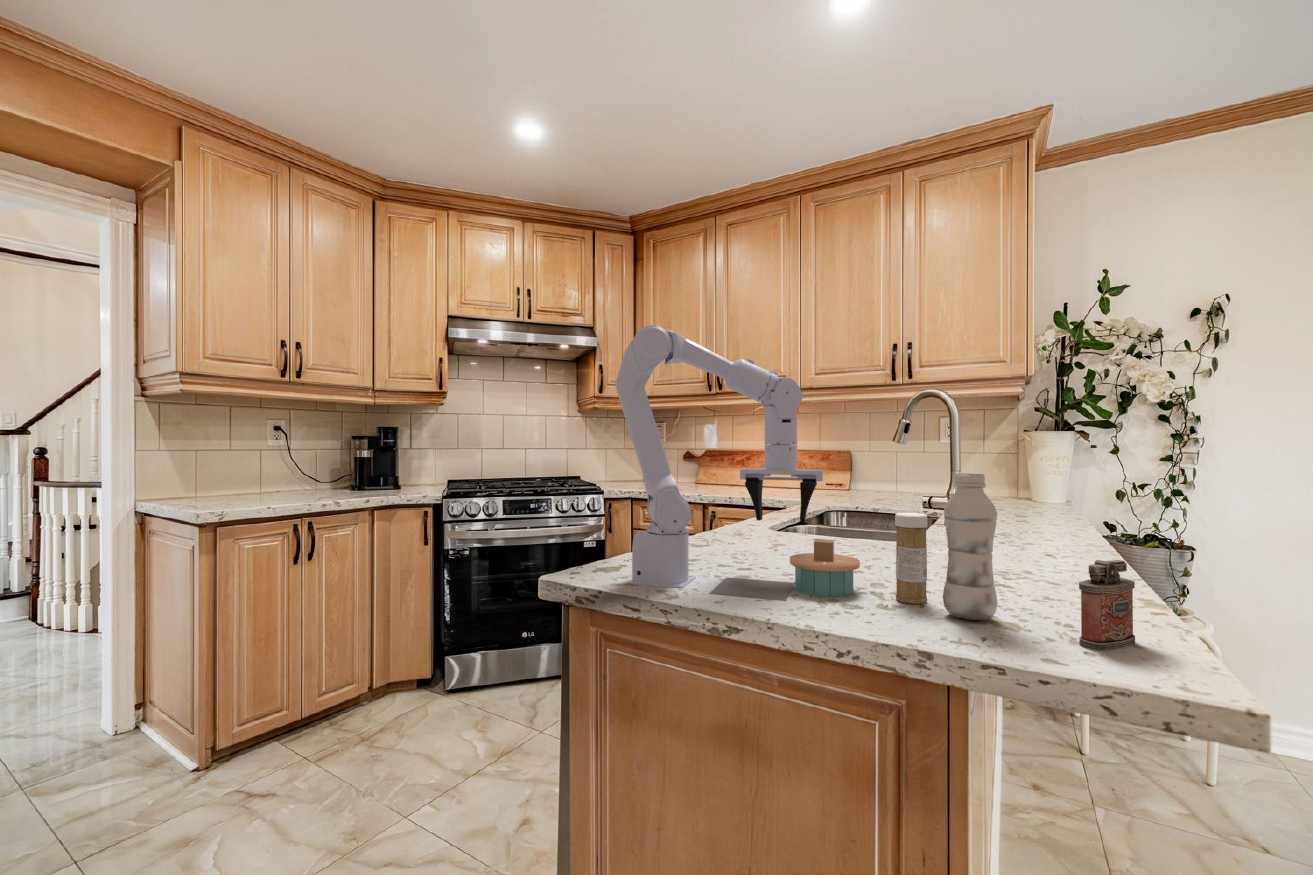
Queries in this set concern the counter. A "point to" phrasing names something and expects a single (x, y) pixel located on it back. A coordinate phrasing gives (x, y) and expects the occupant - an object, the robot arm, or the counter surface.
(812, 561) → the lid
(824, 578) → the bowl
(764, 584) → the mat
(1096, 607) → the lighter
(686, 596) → the counter surface
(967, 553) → the plastic bottle
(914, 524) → the sprinkles bottle
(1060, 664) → the counter surface
